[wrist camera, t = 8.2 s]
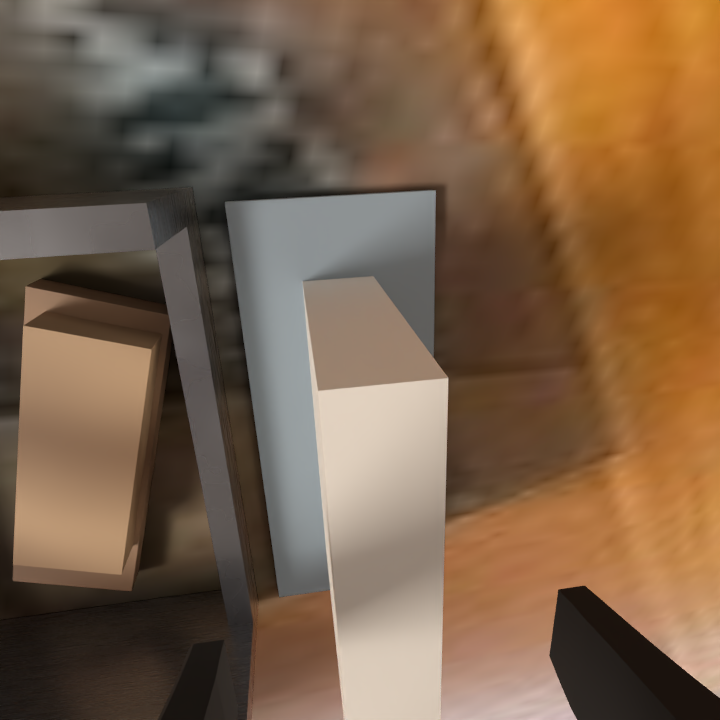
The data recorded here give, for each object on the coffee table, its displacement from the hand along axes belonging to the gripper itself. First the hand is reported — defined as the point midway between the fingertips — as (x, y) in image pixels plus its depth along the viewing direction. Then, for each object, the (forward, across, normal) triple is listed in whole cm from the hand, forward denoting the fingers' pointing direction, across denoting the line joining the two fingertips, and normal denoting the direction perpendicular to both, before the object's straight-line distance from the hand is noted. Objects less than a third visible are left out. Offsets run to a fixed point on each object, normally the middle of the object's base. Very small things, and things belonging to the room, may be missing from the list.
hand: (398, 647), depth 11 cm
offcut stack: (+11, +10, 0) cm, 14 cm away
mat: (+10, 0, 0) cm, 10 cm away
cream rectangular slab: (+10, 0, 0) cm, 10 cm away
